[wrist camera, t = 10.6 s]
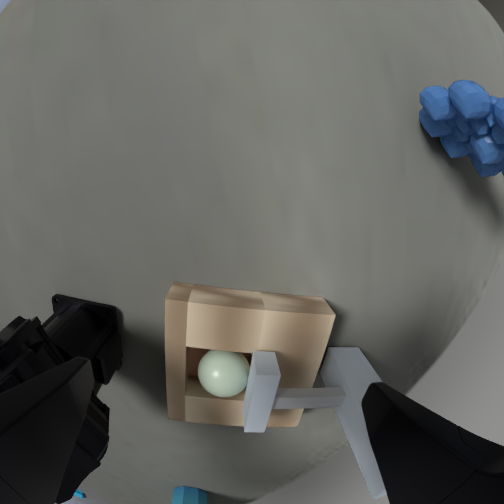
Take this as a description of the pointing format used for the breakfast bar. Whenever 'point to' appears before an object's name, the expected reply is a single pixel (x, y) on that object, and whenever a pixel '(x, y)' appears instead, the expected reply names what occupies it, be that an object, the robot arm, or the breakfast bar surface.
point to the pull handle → (319, 400)
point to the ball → (223, 372)
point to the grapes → (466, 123)
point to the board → (239, 346)
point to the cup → (189, 496)
